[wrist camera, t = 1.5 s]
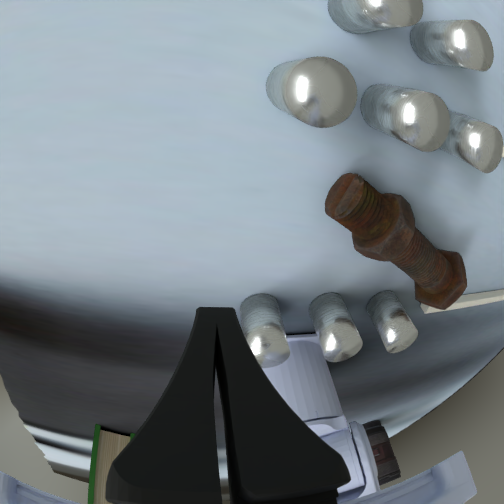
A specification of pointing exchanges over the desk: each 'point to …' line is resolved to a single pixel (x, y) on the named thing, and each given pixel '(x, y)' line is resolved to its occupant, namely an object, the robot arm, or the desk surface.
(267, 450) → the robot arm
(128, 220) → the desk surface
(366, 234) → the bolt
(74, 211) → the desk surface
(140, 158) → the desk surface
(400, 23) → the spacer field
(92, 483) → the hardback book
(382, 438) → the camera lens
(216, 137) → the desk surface
